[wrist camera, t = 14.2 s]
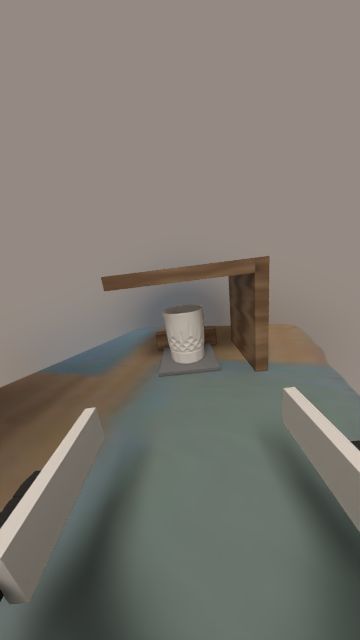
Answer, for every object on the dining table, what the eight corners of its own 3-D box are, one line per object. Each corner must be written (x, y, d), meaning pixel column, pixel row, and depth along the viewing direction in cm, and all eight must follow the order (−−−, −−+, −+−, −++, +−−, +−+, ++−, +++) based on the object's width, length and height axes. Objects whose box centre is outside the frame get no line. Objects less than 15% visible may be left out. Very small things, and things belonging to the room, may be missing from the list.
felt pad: (220, 370, 30) (220, 367, 30) (159, 376, 30) (158, 373, 30) (210, 345, 41) (210, 342, 41) (164, 350, 41) (164, 347, 41)
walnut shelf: (267, 370, 28) (269, 256, 24) (126, 384, 29) (101, 277, 25) (239, 338, 42) (236, 262, 38) (143, 349, 43) (129, 276, 38)
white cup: (189, 344, 41) (185, 303, 38) (215, 354, 35) (211, 306, 32) (162, 357, 36) (154, 311, 34) (186, 370, 30) (179, 316, 27)
